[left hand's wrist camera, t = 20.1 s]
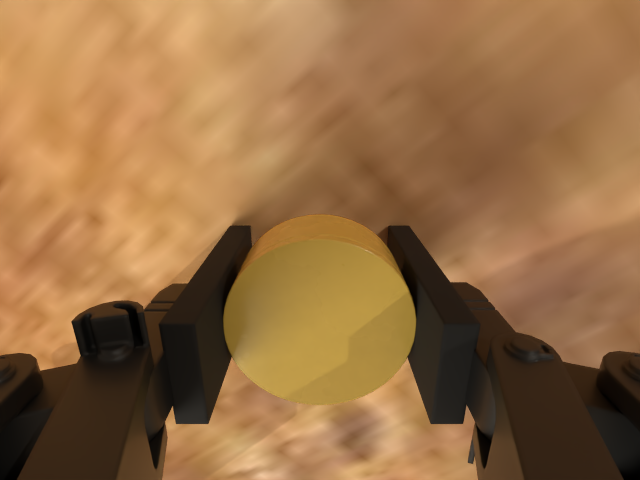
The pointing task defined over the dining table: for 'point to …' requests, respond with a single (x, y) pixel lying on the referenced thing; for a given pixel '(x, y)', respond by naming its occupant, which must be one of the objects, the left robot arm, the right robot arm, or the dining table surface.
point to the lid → (319, 312)
